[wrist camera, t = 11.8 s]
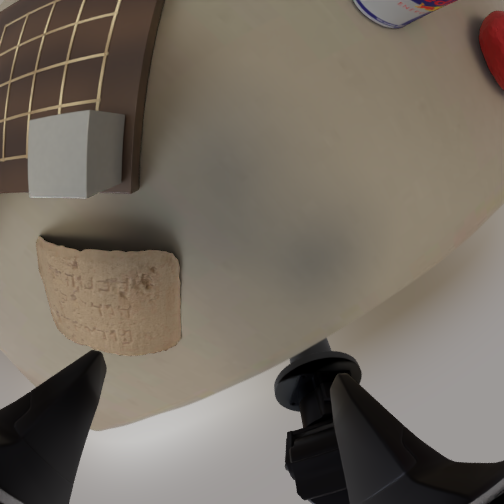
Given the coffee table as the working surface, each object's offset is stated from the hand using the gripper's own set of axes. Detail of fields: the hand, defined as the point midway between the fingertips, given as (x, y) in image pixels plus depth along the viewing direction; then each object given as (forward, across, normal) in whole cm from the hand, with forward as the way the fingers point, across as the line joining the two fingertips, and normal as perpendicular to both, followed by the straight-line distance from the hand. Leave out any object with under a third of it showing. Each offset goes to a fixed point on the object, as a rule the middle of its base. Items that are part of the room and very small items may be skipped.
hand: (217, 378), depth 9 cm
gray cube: (+10, +10, -7) cm, 16 cm away
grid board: (+12, +17, -14) cm, 25 cm away
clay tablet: (+12, +11, +5) cm, 17 cm away
